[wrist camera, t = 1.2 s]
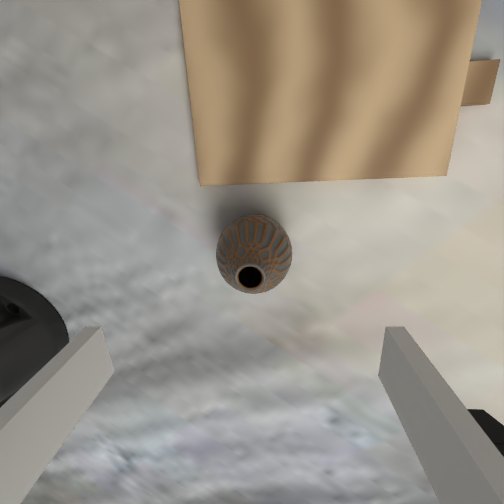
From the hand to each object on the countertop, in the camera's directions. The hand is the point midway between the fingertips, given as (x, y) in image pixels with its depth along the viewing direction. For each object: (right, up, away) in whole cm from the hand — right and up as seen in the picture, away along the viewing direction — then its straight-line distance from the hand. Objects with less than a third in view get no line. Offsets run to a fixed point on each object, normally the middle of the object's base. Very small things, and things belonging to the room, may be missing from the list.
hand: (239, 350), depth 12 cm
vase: (+1, +6, +16) cm, 17 cm away
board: (+8, +18, +10) cm, 22 cm away
